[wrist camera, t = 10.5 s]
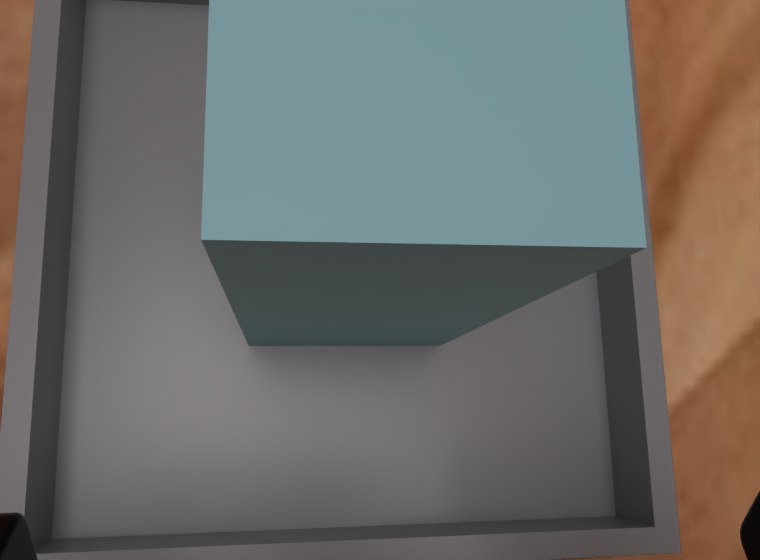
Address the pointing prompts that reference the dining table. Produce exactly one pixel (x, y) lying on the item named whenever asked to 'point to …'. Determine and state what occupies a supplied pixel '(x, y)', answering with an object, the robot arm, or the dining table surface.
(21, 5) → the dining table surface
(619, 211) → the light blue block
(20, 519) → the robot arm
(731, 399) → the dining table surface
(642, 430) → the grey footed tray
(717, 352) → the dining table surface
